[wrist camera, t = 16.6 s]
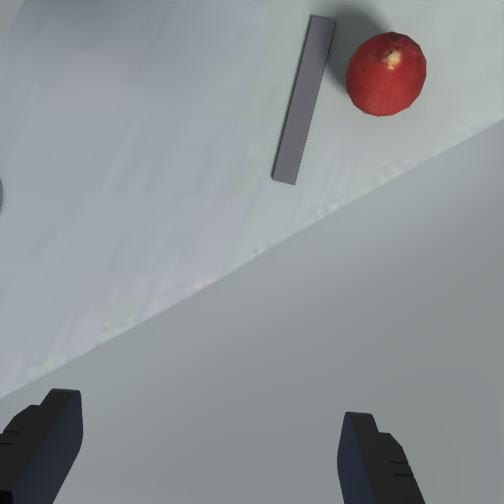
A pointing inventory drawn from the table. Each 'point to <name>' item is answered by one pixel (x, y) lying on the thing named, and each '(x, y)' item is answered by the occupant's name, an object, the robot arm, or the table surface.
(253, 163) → the table surface
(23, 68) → the table surface
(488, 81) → the table surface
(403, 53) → the onion
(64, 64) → the table surface
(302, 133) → the flat gray rectangular bar
